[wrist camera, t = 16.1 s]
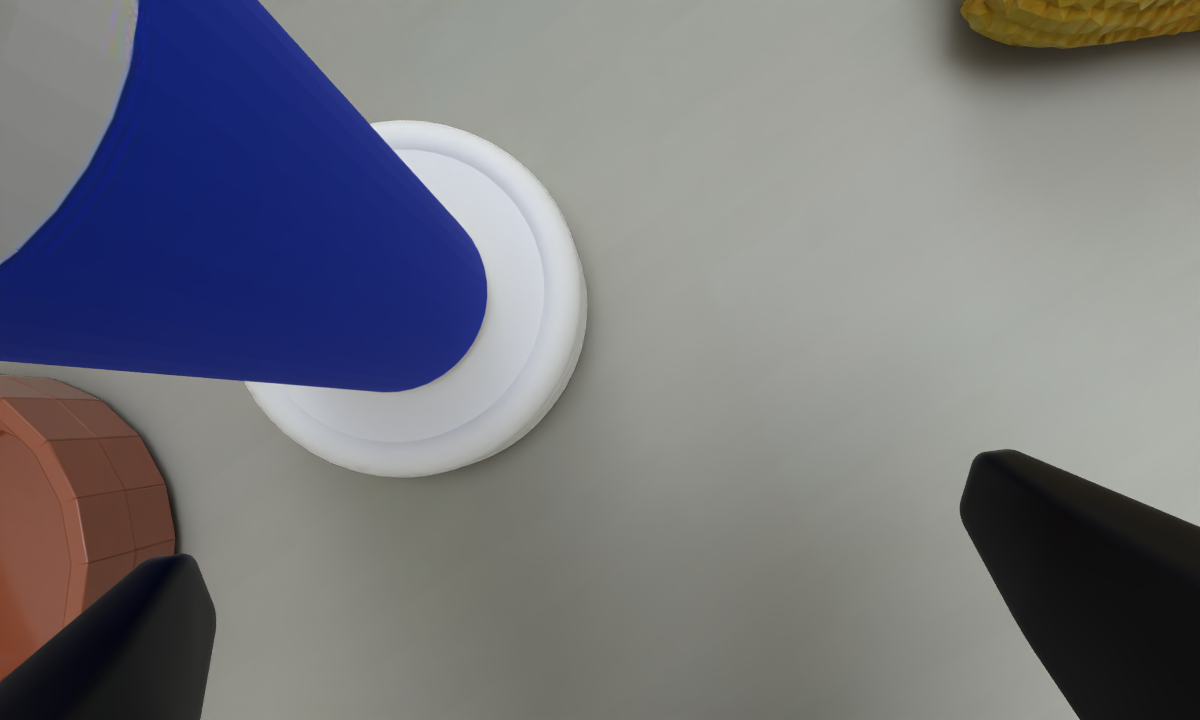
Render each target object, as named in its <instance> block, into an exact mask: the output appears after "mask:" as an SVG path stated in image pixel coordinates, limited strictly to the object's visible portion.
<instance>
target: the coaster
mask: <svg viewBox="0 0 1200 720" xmlns="http://www.w3.org/2000/svg"><path fill="white" fill-rule="evenodd" d="M370 125H371V126H372V127H373V129H374V130H375V131H376V132H377V133H378V134H379V135H380V136H381V137H382V138H383V140H384V141H385V142H386V143H387V144H388V145H389V146H390V147H391V148H392V150H393V151H394V152H395V153H396V154H397V155H398V156H399V157H400V158H401V159H402V161H403V162H404V163H405V164H406V165H407V166H408V167H409V168H410V169H411V171H412V172H413V173H414V174H415V175H416V176H417V177H418V178H419V179H420V181H421V182H422V183H423V184H424V185H425V186H426V187H427V188H428V189H429V190H430V192H431V193H432V194H433V195H434V196H435V197H436V198H437V199H438V200H439V202H440V203H441V204H442V205H443V206H444V207H445V208H446V209H447V210H448V211H449V213H450V214H451V215H452V216H453V217H454V218H455V219H456V220H457V221H458V223H459V224H460V225H461V226H462V227H463V228H464V230H465V231H466V232H467V233H468V235H469V236H470V237H471V239H472V240H473V242H474V244H475V246H476V247H477V249H478V251H479V253H480V256H481V259H482V262H483V265H484V268H485V274H486V279H487V304H486V311H485V315H484V319H483V322H482V325H481V328H480V330H479V332H478V335H477V337H476V339H475V341H474V343H473V344H472V346H471V347H470V348H469V350H468V351H467V353H466V354H465V355H464V357H463V358H462V359H461V360H460V361H459V362H458V363H457V364H456V365H455V366H454V367H453V368H451V369H450V370H449V371H448V372H446V373H445V374H444V375H442V376H441V377H439V378H437V379H435V380H434V381H432V382H430V383H428V384H425V385H423V386H420V387H417V388H415V389H410V390H405V391H400V392H372V391H360V390H348V389H336V388H323V387H311V386H299V385H287V384H275V383H263V382H251V381H243V382H244V383H245V385H246V387H247V388H248V390H249V392H250V393H251V395H252V397H253V398H254V400H255V401H256V403H257V404H258V405H259V407H260V408H261V409H262V410H263V411H264V413H265V414H266V415H267V416H268V417H269V419H270V420H271V421H272V422H273V423H274V424H275V425H276V426H277V427H279V428H280V429H281V430H282V431H283V432H284V433H285V434H286V435H287V436H288V437H290V438H291V439H292V440H294V441H295V442H297V443H298V444H300V445H301V446H303V447H304V448H305V449H307V450H308V451H310V452H311V453H313V454H315V455H317V456H319V457H321V458H323V459H325V460H327V461H329V462H331V463H333V464H335V465H338V466H341V467H344V468H347V469H350V470H353V471H356V472H360V473H365V474H370V475H376V476H381V477H399V478H409V477H421V476H430V475H434V474H439V473H443V472H447V471H452V470H454V469H457V468H461V467H464V466H466V465H470V464H473V463H475V462H478V461H481V460H484V459H486V458H489V457H491V456H493V455H495V454H497V453H499V452H500V451H502V450H504V449H506V448H508V447H509V446H511V445H512V444H514V443H515V442H516V441H518V440H519V439H521V438H522V437H524V436H525V435H526V434H527V433H528V432H529V431H530V430H531V429H533V428H534V427H535V426H536V425H537V424H538V423H539V422H540V421H541V420H542V419H543V418H544V416H545V415H546V414H547V413H548V412H549V410H550V409H551V408H552V407H553V406H554V404H555V403H556V401H557V400H558V398H559V397H560V395H561V394H562V392H563V391H564V389H565V388H566V386H567V384H568V382H569V380H570V378H571V376H572V374H573V372H574V370H575V367H576V364H577V362H578V359H579V356H580V353H581V350H582V345H583V341H584V336H585V332H586V321H587V289H586V284H585V278H584V273H583V268H582V265H581V262H580V259H579V256H578V253H577V250H576V247H575V244H574V241H573V238H572V235H571V232H570V229H569V227H568V225H567V223H566V221H565V219H564V217H563V215H562V213H561V211H560V209H559V207H558V206H557V204H556V203H555V201H554V200H553V198H552V197H551V195H550V194H549V193H548V191H547V190H546V188H545V187H544V186H543V185H542V184H541V183H540V182H539V180H538V179H537V178H536V177H535V176H534V175H533V174H532V173H531V172H530V171H529V170H528V169H527V168H526V167H525V166H523V165H522V164H521V163H520V162H519V161H517V160H516V159H515V158H514V157H513V156H511V155H510V154H508V153H507V152H505V151H504V150H502V149H501V148H499V147H497V146H496V145H494V144H493V143H491V142H489V141H487V140H484V139H482V138H480V137H478V136H476V135H474V134H472V133H469V132H466V131H463V130H460V129H456V128H453V127H450V126H447V125H442V124H436V123H430V122H424V121H403V120H396V121H387V122H378V123H372V124H370Z"/></svg>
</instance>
